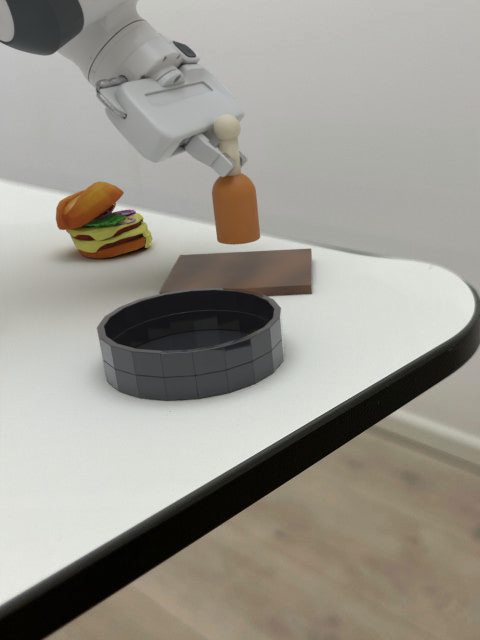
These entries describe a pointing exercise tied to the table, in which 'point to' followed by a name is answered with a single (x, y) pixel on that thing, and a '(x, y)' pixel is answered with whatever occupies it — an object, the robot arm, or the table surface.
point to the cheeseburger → (101, 222)
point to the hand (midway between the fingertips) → (236, 168)
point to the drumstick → (234, 191)
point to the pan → (191, 343)
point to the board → (245, 272)
